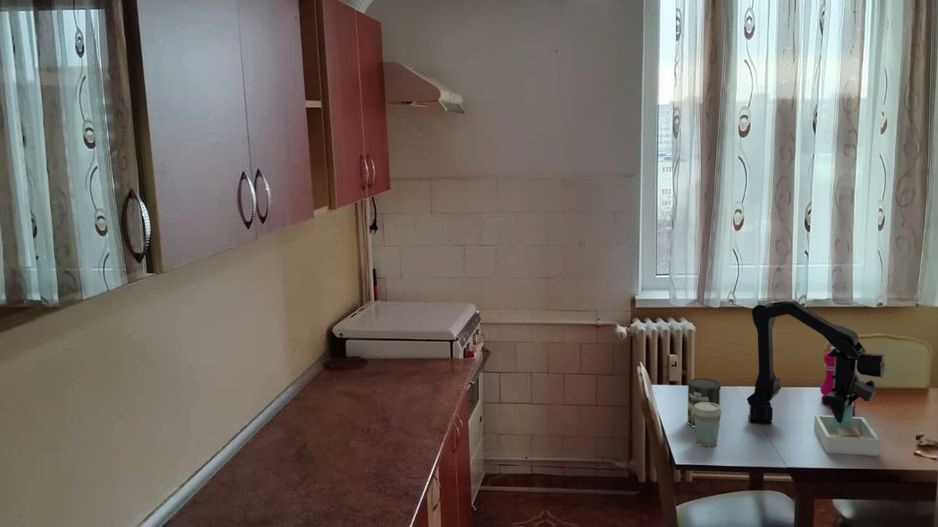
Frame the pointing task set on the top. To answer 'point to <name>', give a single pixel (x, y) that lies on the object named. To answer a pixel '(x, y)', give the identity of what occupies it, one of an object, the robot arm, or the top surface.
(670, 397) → the top surface
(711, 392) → the coffee can
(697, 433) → the coffee cup
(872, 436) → the tote
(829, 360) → the pepper mill
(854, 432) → the beige rectangular block
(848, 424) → the teal cylinder
